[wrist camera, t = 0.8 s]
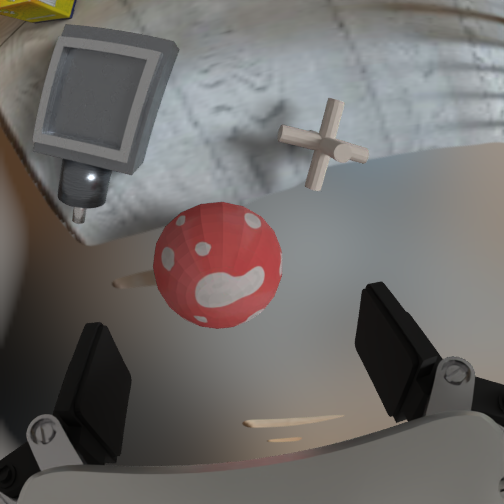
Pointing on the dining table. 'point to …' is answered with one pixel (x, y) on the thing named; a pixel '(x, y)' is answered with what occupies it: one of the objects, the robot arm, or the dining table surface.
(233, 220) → the decorative mushroom
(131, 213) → the dining table surface
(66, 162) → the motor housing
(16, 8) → the supplement box
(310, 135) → the pipe connector
